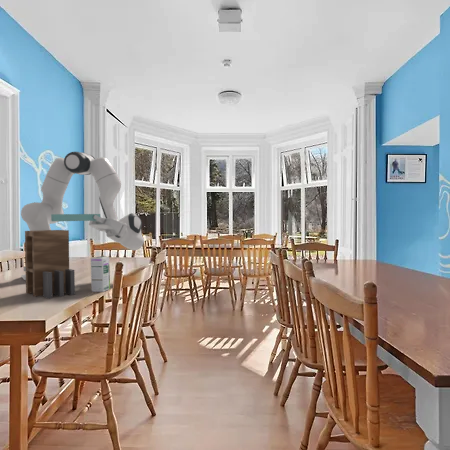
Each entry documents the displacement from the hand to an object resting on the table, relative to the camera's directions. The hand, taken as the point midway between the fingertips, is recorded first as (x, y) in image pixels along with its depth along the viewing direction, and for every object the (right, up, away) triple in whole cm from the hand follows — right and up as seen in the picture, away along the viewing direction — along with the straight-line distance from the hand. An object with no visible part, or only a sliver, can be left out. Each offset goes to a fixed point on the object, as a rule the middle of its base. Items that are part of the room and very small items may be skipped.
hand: (91, 216), depth 173 cm
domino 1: (-9, -33, -23) cm, 41 cm away
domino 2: (-6, -32, -20) cm, 39 cm away
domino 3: (-3, -32, -17) cm, 37 cm away
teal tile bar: (-5, -2, -5) cm, 7 cm away
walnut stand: (-13, -32, -13) cm, 38 cm away
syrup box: (+8, -32, -10) cm, 35 cm away
